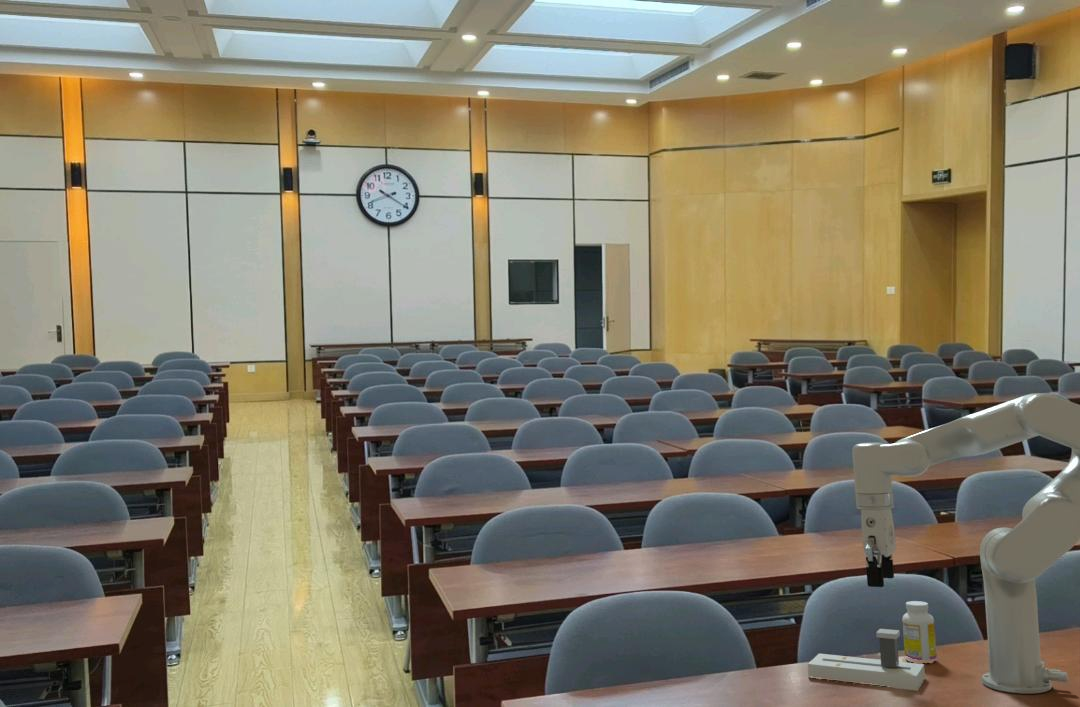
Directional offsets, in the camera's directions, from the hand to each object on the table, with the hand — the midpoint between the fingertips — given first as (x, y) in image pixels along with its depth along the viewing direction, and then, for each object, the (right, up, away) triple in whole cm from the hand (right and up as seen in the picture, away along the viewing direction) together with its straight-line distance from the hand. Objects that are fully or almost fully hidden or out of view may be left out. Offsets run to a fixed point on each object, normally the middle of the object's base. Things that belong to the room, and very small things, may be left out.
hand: (881, 582), depth 197 cm
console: (-3, -21, +1) cm, 21 cm away
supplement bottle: (+13, -21, +12) cm, 27 cm away
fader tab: (+1, -17, -2) cm, 17 cm away
